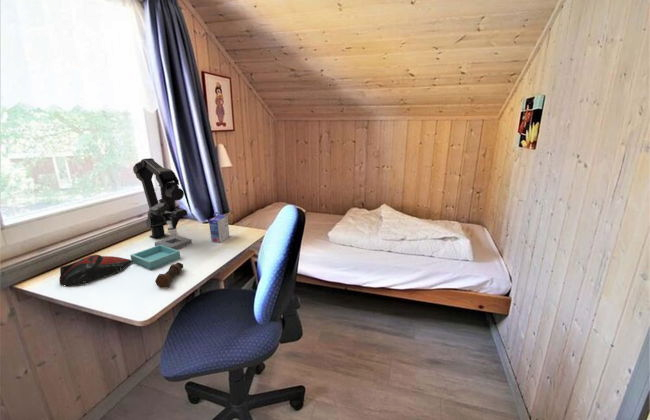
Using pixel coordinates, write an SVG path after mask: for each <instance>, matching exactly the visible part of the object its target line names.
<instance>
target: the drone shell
mask: <svg viewBox="0 0 650 420" xmlns="http://www.w3.org/2000/svg"><path fill="white" fill-rule="evenodd" d="M131 263H132V261H131V258H130V259H129V258H124V257H120V256H109V255H107V256H105V255H100V254H92V255H88V256H86V257H83V258H81V259H78V260H77V261H75V262H72V263H70V264H66V265H63V266H62V265H61V266H60V267H59V274H60V275H59V279H58V280H59V285H60V284H61V285H60V286H64V285H65V286H64V287H74V286H75V287H76V286H81V285H82V284H83V285H87V284H90V283H92V282H95V281H99V280H101V279H105V278H107V277H109V276H112V275H115V274H117V273H120V272H121V271H123V270H124V269H125V268H127V267H128V266H129V265H131Z"/></svg>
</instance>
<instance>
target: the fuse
mask: <svg viewBox="0 0 650 420" xmlns="http://www.w3.org/2000/svg"><path fill="white" fill-rule="evenodd" d="M175 235H178V231H177V227H176V228H173V226H172V221H171V220H168V221H167V236H169V237H172V236H175Z"/></svg>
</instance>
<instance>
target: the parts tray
mask: <svg viewBox="0 0 650 420" xmlns="http://www.w3.org/2000/svg"><path fill="white" fill-rule="evenodd" d="M129 256H130V260H131V261H132V262H131V263H132V264H135V265H137V266H140V267H142V268H143V269H147V270H150V271H153V270H155V269H157V268H160V267H162V266H165V265H167V264H169V263H172V262H175V261H177V260H179V259H181V258H182V257H181V251H180V250H179V249H177V250H175V249H172V248H169V247H166V246H163V245H158V246H155V245H154V246H152V247H149V248H147V249H144V250H141V251H138V252H136V253H131V254H130V255H129Z"/></svg>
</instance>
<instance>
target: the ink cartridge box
mask: <svg viewBox="0 0 650 420" xmlns="http://www.w3.org/2000/svg"><path fill="white" fill-rule="evenodd" d="M213 216H214V217H212V218H210V219H208V223H209V225H208V226H209V232H210V233H209V234H210V239H211V243H217V244H220V243H222V242H223V241H225V240H226V239H228V238H229V237H230V228H229V227H230V226H229V219H228V217H229V216H228V215H227V214H219V212H218V211H217V212H214V213H213Z"/></svg>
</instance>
